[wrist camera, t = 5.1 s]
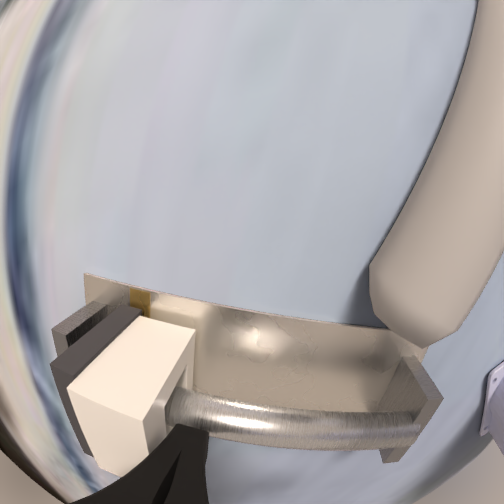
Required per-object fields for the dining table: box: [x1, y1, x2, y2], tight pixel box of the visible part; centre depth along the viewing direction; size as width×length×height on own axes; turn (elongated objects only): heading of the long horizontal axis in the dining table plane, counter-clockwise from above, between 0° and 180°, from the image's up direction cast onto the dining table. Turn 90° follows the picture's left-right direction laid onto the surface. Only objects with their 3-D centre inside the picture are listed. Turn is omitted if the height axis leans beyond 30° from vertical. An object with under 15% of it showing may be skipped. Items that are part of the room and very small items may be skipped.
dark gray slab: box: [50, 304, 142, 457], centre depth 11 cm, size 1×6×6 cm, turn 172°
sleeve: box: [67, 316, 196, 477], centre depth 10 cm, size 3×6×6 cm, turn 172°
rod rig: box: [52, 273, 444, 463], centre depth 12 cm, size 20×8×5 cm, turn 82°
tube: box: [369, 0, 504, 349], centre depth 7 cm, size 5×5×25 cm
